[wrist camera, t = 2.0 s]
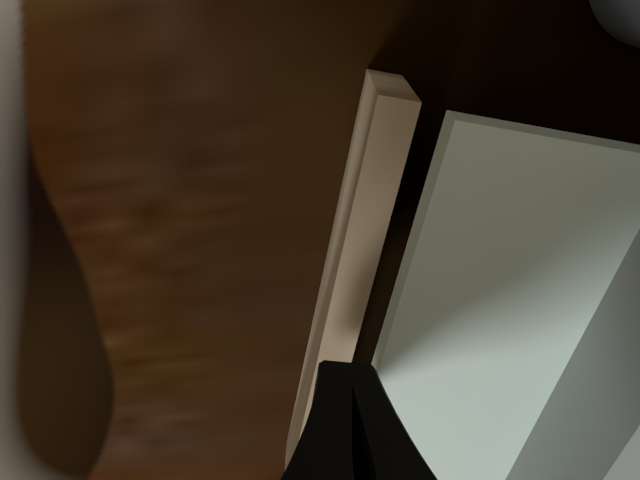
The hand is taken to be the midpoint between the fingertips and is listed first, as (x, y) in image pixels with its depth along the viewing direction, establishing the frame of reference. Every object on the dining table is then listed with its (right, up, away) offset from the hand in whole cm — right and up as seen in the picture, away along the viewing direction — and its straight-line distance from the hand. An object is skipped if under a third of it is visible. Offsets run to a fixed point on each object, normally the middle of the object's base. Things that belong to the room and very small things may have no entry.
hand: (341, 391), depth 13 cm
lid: (+6, 0, +2) cm, 6 cm away
